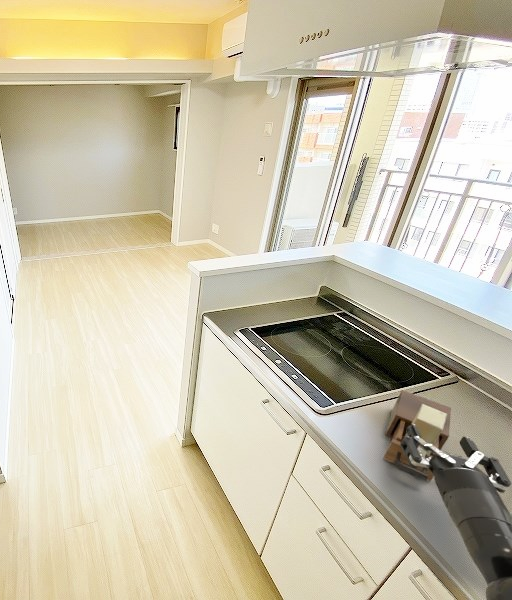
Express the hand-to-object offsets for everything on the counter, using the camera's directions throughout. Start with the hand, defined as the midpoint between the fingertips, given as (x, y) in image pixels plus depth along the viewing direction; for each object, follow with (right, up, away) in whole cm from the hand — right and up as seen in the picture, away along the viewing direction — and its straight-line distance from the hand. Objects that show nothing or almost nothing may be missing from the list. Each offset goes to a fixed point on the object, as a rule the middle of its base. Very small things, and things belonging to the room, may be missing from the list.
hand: (436, 433), depth 69 cm
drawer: (+1, -10, +8) cm, 12 cm away
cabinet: (+9, -6, +15) cm, 19 cm away
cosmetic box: (+2, -8, +8) cm, 12 cm away
